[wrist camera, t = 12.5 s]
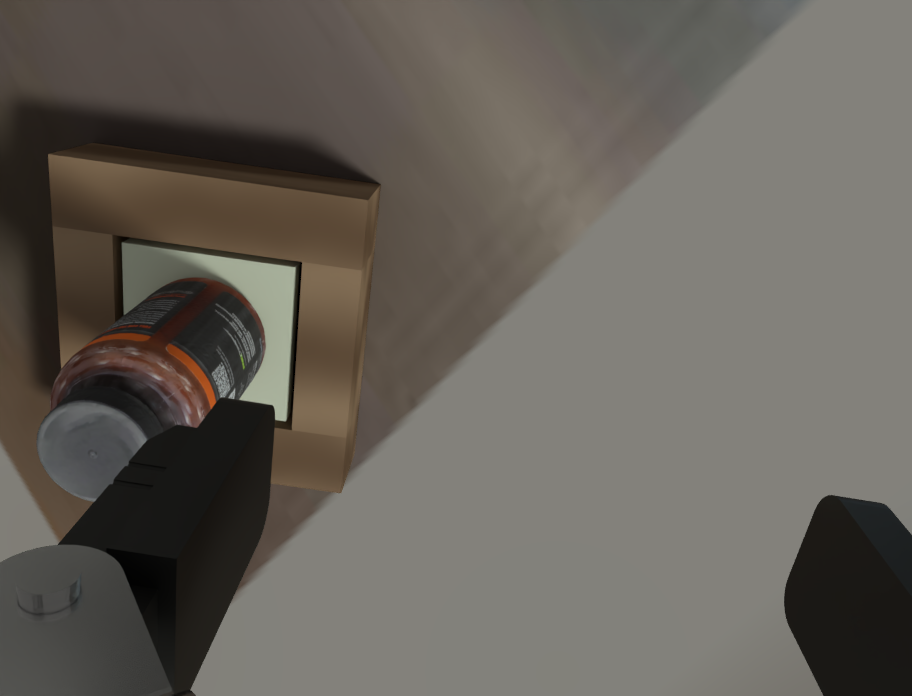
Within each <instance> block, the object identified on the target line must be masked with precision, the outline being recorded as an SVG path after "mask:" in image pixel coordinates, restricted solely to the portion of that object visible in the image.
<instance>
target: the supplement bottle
mask: <svg viewBox="0 0 912 696" xmlns="http://www.w3.org/2000/svg"><path fill="white" fill-rule="evenodd" d="M265 350H266V342H265V332H264V328H263V325H262V322H261V320H260V318H259V316H258V314H257V312H256V310H255V309H254V308H253V306H252V305H251V303H250V302H249V301H248V300H247V299H246V298H245V297H244V296H242V295H241V294H240V293H239V292H237V291H236V290H234V289H233V288H231V287H229V286H227V285H225V284H223V283H221V282H218V281H215V280H211V279H208V278H198V277H193V278H184V279H179V280H176V281H173V282H170V283H168V284H166V285H165V286H162V287H161V288H160V289H158V290H156V291H155V292H154V293H152V294H151V295H149V296H148V297H147V298H146V299H145V300H143V301H142V302H141V303H139V304H138V305H137V306H136V307H134V308H133V309H132V310H130V311H129V312H128V313H126V314H125V315H124V316H123V317H121V318H120V319H119V320H117V321H116V322H115V323H114V324H113V325H111V326H110V327H109V328H107V329H106V330H105V331H103V332H102V333H101V334H100V335H98V336H97V337H96V338H94V339H93V340H92V341H90V342H89V343H88V344H87V345H86V346H85V347H83V348H82V349H81V350H79V351H78V352H77V353H76V354H74V355H73V356H72V357H71V358H70V359H69V361H68V362H67V363H66V364H65V365H64V366H63V367H62V369H61V370H60V372H59V374H58V376H57V378H56V380H55V382H54V385H53V389H52V391H51V399H50V411H51V412H50V413H49V414H48V415H47V416H46V417H45V418H44V420H43V422H42V423H41V425H40V428H39V431H38V434H37V450H38V454H39V458H40V461H41V463H42V464H43V467H44V468H45V470H46V472H47V473H48V475H49V476H50V477H51V478H52V480H53V481H55V482H56V483H57V484H58V485H59V486H60V487H62V488H63V489H64V490H66V491H67V492H69V493H71V494H73V495H74V496H77V497H79V498H82V499H84V500H88V501H93V502H95V500H96V499H97V498H98V497H99V496H100V495H101V493H102V492H103V491H104V490H105V489H106V488H107V486H108V485H109V484H113V480H114V478H115V477H116V476H117V475H118V474H119V472H120V471H121V470H122V469H123V468H124V467H125V466H128V464H129V461H130V459H131V458H132V457H133V456H134V455H135V454H136V452H137V451H138V450H139V449H140V448H141V447H142V445H143V444H144V443H145V442H146V441H147V440H149V439H150V438H152V437H154V436H156V435H158V434H160V433H162V432H164V431H166V430H168V429H170V428H171V427H173V426H175V425H183V426H189V427H195V428H197V427H198V426H199V424H200V423H201V422H202V421H203V419H204V418H205V417H206V415H207V414H208V413H209V411H210V410H211V409H212V407H213V406H214V405H215V403H216V402H217V401H218V400H219V399H220V398H221V397H225V398H231V399H238V400H239V399H240V398H241V396H242V395H243V393H244V392H245V390H246V389H247V388H248V386H249V385H250V383H251V382H252V380H253V379H254V377H255V375H256V374H257V372H258V370H259V368H260V367H261V364H262V362H263V358H264V355H265Z"/></svg>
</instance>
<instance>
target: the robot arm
mask: <svg viewBox="0 0 912 696" xmlns="http://www.w3.org/2000/svg"><path fill="white" fill-rule="evenodd" d="M274 430H275V409H274V406H273V405H269V404H263V403H256V402H250V401H244V400H238V399H231V398H225V397H221V398H220V399H219V400H218V401H217V402H216V403H215V405H214V406H213V407H212V409H211V410H210V411H209V413H208V414H207V415H206V417H205V418H204V419H203V421H202V422H201V423H200V424H199V426H198V427H197V428H195V427H189V426H183V425H175V426H173V427H171V428H170V429H168V430H166V431H164V432H162V433H160V434H158V435H156V436H154V437H152V438H150V439H149V440H147V441H146V442H145V443H144V444H143V445H142V447H141V448H140V449H139V450H138V451H137V452H136V454H135V455H134V456H133V457H132V458H131V459H130V461H129V464H128V466H125V467H124V468H123V469H122V470H121V471H120V472H119V474H118V475H117V476H116V477H115V478H114V480H113V484H109V485H108V486H107V488H106V489H105V490H104V491H103V492H102V493H101V495H100V496H99V497H98V498H97V499H96V500H95V502H94V503H93V504H92V505H91V506H90V508H89V509H88V510H87V511H86V512H85V513H84V515H83V516H82V517H81V518H80V519H79V520H78V522H77V523H76V524H75V525H74V526H73V527H72V529H71V530H70V531H69V532H68V533H67V534H66V536H65V537H64V538H63V539H62V540H61V541H60V543H59V544H58V545H53V546H46V547H40V548H36V549H33V550H29V551H25V552H22V553H20V554H17V555H15V556H12V557H10V558H8V559H6V560H4V561H2V562H0V696H196V695H195V694H194V693H193V692H192V691H190V689H191V687H192V685H193V683H194V681H195V678H196V676H197V674H198V672H199V670H200V668H201V665H202V663H203V661H204V659H205V657H206V654H207V652H208V650H209V648H210V646H211V644H212V642H213V640H214V637H215V635H216V633H217V631H218V629H219V627H220V624H221V622H222V620H223V618H224V616H225V614H226V612H227V609H228V607H229V605H230V603H231V601H232V599H233V596H234V594H235V592H236V590H237V588H238V586H239V583H240V581H241V579H242V577H243V575H244V573H245V571H246V568H247V566H248V564H249V562H250V560H251V558H252V555H253V553H254V551H255V549H256V547H257V545H258V542H259V540H260V538H261V535H262V532H263V529H264V525H265V521H266V517H267V512H268V506H269V498H270V485H271V471H272V458H273V444H274ZM784 606H785V614H786V619H787V622H788V625H789V627H790V629H791V631H792V633H793V635H794V637H795V639H796V641H797V643H798V645H799V647H800V649H801V651H802V653H803V655H804V657H805V659H806V661H807V663H808V665H809V667H810V669H811V671H812V673H813V675H814V677H815V679H816V681H817V683H818V685H819V687H820V689H821V692H822V693H823V696H912V535H911V534H910V532H909V531H908V530H907V529H906V528H905V526H904V525H903V524H902V523H901V522H900V521H899V519H898V518H897V517H896V516H895V514H894V513H893V512H892V511H891V510H890V509H889V508H888V507H887V506H886V505H885V504H882V503H877V502H871V501H865V500H859V499H852V498H846V497H840V496H833V495H828V496H826V497H824V498H823V499H822V500H821V501H820V502H819V504H818V505H817V507H816V509H815V511H814V514H813V516H812V519H811V522H810V524H809V526H808V529H807V532H806V534H805V537H804V539H803V542H802V544H801V547H800V549H799V552H798V554H797V557H796V559H795V562H794V565H793V567H792V569H791V572H790V575H789V577H788V580H787V583H786V588H785V596H784Z"/></svg>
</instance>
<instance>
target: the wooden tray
mask: <svg viewBox="0 0 912 696" xmlns="http://www.w3.org/2000/svg"><path fill="white" fill-rule="evenodd" d="M48 163H49V179H50V195H51V211H52V228H53V244H54V260H55V276H56V293H57V309H58V325H59V341H60V358H61V369H62V367H63V366H64V365H65V364H66V363H67V362H68V361H69V359H70V358H71V357H72V356H73V355H74V354H76V353H77V352H78V351H79V350H81V349H82V348H83V347H85V346H86V345H87V344H88V343H89V342H90V341H92V340H93V339H94V338H96V337H97V336H98V335H100V334H101V333H102V332H103V331H105V330H106V329H107V328H109V327H110V326H111V325H113V324H114V323H115V322H116V321H117V320H119V319H120V318H121V317H123V316H124V305H123V269H122V242H124V241H126V240H128V239H129V238H138V239H145V240H152V241H159V242H166V243H173V244H180V245H187V246H194V247H201V248H208V249H215V250H221V251H228V252H235V253H242V254H249V255H256V256H263V257H270V258H277V259H284V260H291V261H298V262H302V273H301V289H300V305H299V321H298V337H297V353H296V369H295V385H294V393H292V401H291V413H290V415H289V417H288V418H287V420H286V421H279V420H275V430H274V444H273V458H272V471H271V483H272V484H279V485H286V486H293V487H300V488H307V489H314V490H321V491H329V492H336V493H341V492H342V489H343V486H344V483H345V480H346V477H347V474H348V471H349V468H350V465H351V462H352V459H353V456H354V452H355V442H356V432H357V422H358V412H359V401H360V391H361V381H362V371H363V361H364V350H365V340H366V330H367V320H368V310H369V299H370V289H371V279H372V269H373V259H374V248H375V238H376V228H377V218H378V208H379V198H380V187H381V184H375V183H368V182H361V181H354V180H347V179H340V178H333V177H326V176H319V175H312V174H306V173H299V172H292V171H285V170H278V169H271V168H264V167H257V166H250V165H243V164H236V163H229V162H222V161H216V160H209V159H202V158H195V157H188V156H181V155H174V154H167V153H160V152H153V151H146V150H139V149H132V148H126V147H119V146H112V145H105V144H98V143H90V144H86V145H82V146H78V147H74V148H70V149H66V150H62V151H58V152H54V153H50V154H48Z"/></svg>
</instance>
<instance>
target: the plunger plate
mask: <svg viewBox="0 0 912 696" xmlns="http://www.w3.org/2000/svg"><path fill="white" fill-rule="evenodd" d="M122 269H123V305H124V315H125V314H126V313H128V312H129V311H130V310H132V309H133V308H134V307H136V306H137V305H138V304H139V303H141V302H142V301H143V300H145V299H146V298H147V297H148V296H149V295H151V294H152V293H154V292H155V291H156V290H158V289H160V288H161V287H162V286H165V285H166V284H168V283H170V282H173V281H176V280H179V279H184V278H193V277H198V278H208V279H211V280H215V281H218V282H221V283H223V284H225V285H227V286H229V287H231V288H233V289H234V290H236V291H237V292H239V293H240V294H241V295H242V296H244V297H245V298H246V299H247V300H248V301H249V302H250V303H251V305H252V306H253V308H254V309H255V310H256V312H257V314H258V316H259V318H260V320H261V322H262V325H263V328H264V332H265V342H266V350H265V355H264V358H263V362H262V364H261V367H260V368H259V370H258V372H257V374H256V375H255V377H254V379H253V380H252V382H251V383H250V385H249V386H248V388H247V389H246V390H245V392H244V393H243V395H242V396H241V398H240V399H239V400H244V401H250V402H256V403H263V404H269V405H273V406H274V409H275V420H279V421H286V420H287V418H288V417H289V415H290V413H291V401H292V385H293V368H294V352H295V336H296V320H297V303H298V287H299V271H300V262H298V261H291V260H284V259H277V258H270V257H263V256H256V255H249V254H242V253H235V252H228V251H221V250H215V249H208V248H201V247H194V246H187V245H180V244H173V243H166V242H159V241H152V240H145V239H138V238H129V239H128V240H126V241H124V242H122Z"/></svg>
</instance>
